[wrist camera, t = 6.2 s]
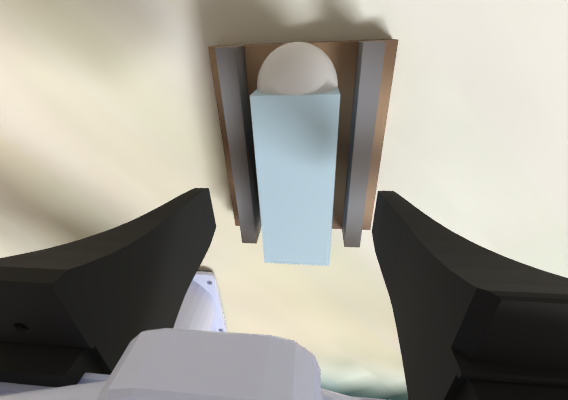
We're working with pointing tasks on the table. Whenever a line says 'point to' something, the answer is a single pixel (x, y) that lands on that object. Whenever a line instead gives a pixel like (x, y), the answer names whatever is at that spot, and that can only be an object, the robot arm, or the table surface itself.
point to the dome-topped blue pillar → (296, 152)
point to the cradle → (351, 128)
